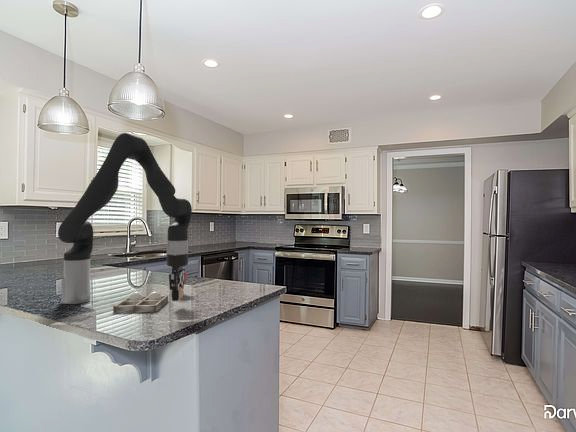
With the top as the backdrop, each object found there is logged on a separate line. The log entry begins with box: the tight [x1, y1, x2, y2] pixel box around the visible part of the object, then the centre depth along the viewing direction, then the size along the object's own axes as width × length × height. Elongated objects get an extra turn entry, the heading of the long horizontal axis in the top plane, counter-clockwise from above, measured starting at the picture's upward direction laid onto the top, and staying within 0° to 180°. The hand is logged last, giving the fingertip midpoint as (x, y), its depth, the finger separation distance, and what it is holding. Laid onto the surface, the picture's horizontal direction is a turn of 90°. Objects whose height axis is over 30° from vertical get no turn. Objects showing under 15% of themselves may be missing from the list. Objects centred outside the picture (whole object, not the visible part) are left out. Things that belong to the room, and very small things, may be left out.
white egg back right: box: [147, 290, 162, 300], centre depth 131 cm, size 5×5×5 cm
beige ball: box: [169, 287, 185, 301], centre depth 125 cm, size 5×5×5 cm
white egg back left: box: [129, 291, 144, 301], centre depth 131 cm, size 5×5×5 cm
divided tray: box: [112, 295, 169, 314], centre depth 128 cm, size 15×15×3 cm
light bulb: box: [174, 270, 188, 290], centre depth 147 cm, size 7×7×12 cm
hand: (177, 298), depth 125 cm, fingers closed on beige ball, 4 cm apart
